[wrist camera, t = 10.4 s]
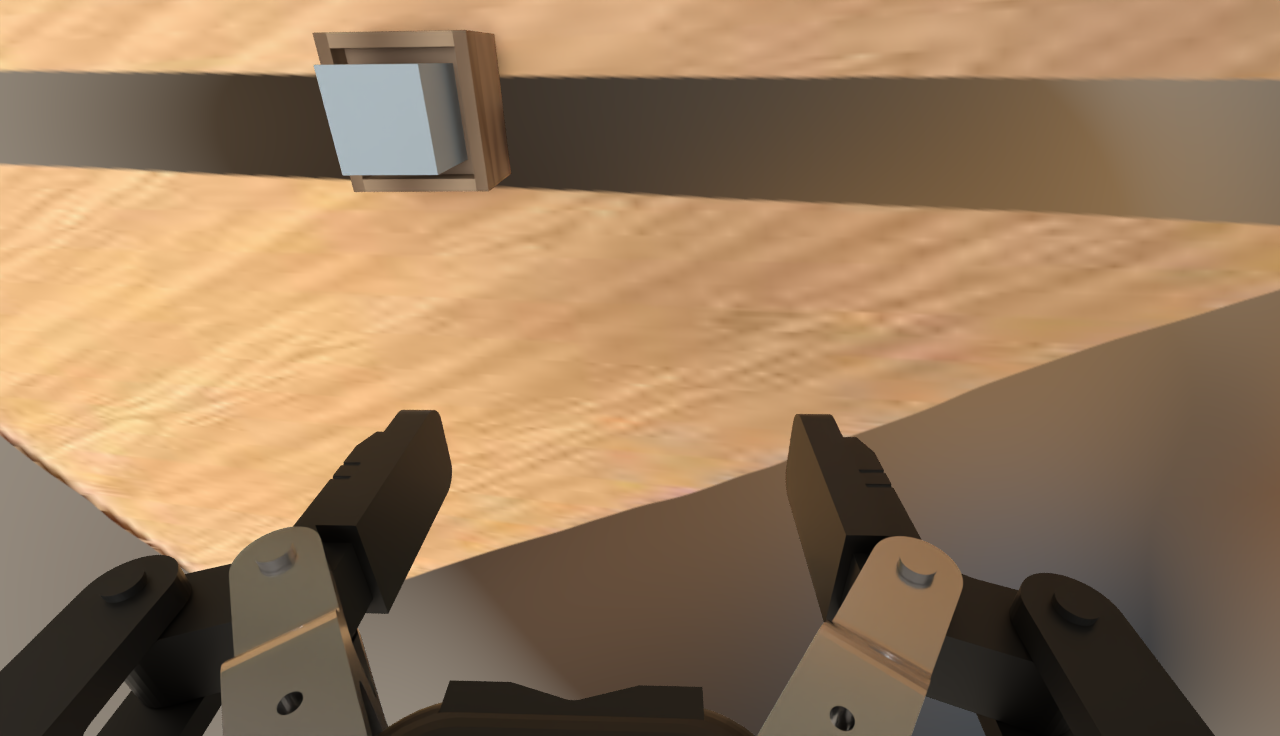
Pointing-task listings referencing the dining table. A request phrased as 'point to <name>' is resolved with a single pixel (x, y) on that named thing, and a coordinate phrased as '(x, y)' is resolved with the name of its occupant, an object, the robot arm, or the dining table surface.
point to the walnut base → (475, 97)
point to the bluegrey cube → (393, 117)
